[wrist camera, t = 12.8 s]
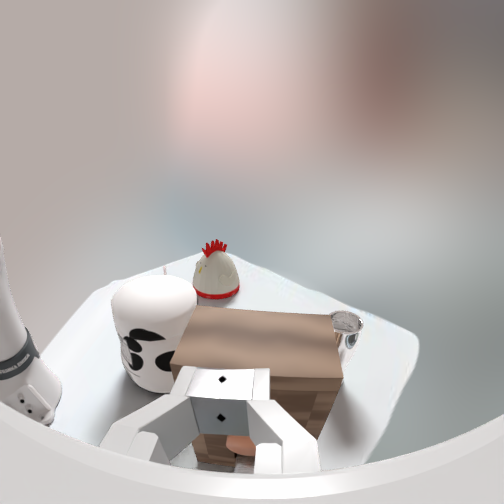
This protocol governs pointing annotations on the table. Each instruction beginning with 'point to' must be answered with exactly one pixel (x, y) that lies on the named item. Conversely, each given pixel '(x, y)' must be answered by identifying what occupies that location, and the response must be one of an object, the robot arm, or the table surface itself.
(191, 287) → the milk container
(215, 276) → the kitchen timer
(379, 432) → the table surface
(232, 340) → the box
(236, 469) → the grey plug
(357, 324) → the white hollow cylinder
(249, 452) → the terracotta plug
